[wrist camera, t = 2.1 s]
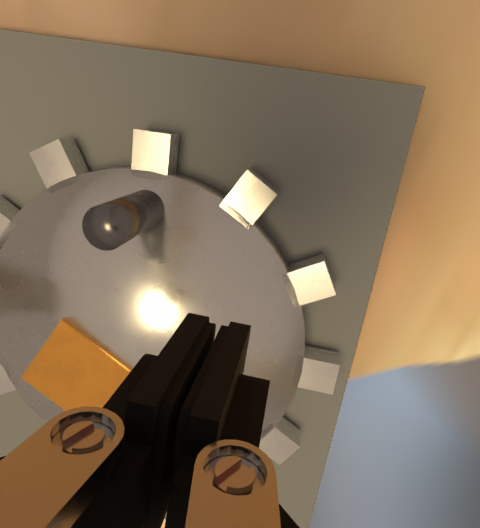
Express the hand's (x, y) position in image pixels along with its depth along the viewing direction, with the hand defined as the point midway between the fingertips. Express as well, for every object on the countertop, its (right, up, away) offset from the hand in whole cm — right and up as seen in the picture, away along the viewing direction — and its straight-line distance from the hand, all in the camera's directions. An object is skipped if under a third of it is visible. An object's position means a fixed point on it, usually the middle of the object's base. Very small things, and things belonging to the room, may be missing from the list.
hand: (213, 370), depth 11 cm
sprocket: (-5, -1, +16) cm, 17 cm away
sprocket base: (-5, -1, +17) cm, 18 cm away
